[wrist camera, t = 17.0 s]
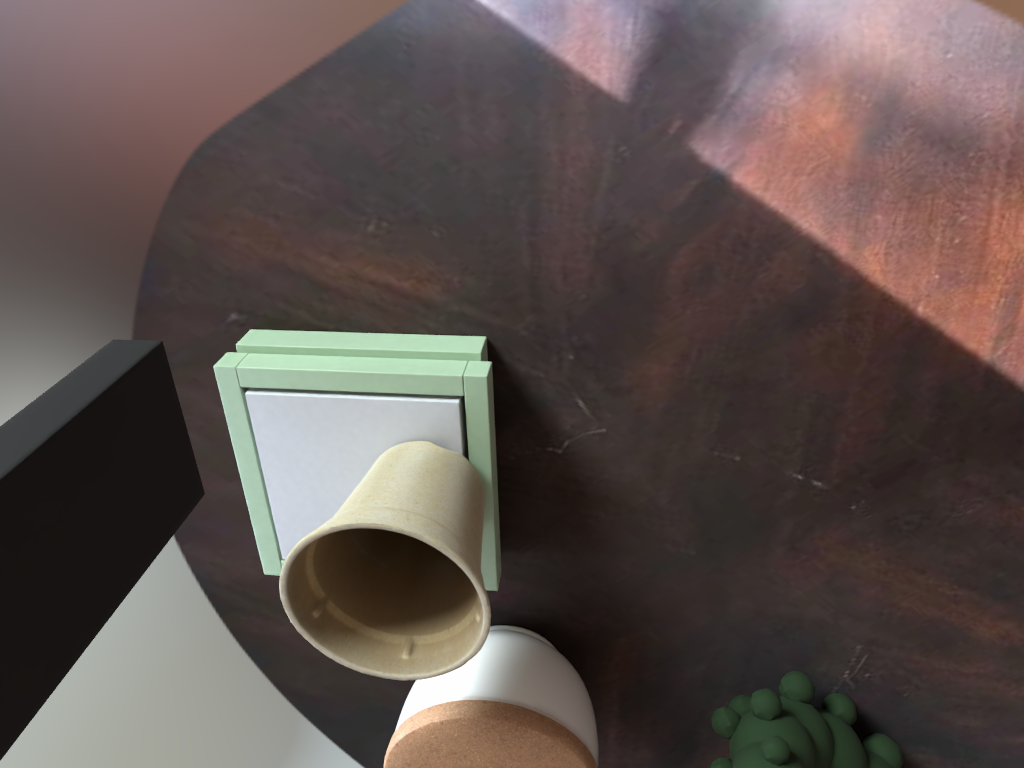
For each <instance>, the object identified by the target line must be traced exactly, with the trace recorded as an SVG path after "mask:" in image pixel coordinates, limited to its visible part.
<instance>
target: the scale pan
mask: <svg viewBox="0 0 1024 768" xmlns="http://www.w3.org/2000/svg"><path fill="white" fill-rule="evenodd" d="M245 396H246V400H247V404H248V409H249V413H250V418H251V422H252V426H253V431H254V435H255V440H256V444H257V448H258V453H259V457H260V462H261V466H262V470H263V475H264V479H265V483H266V488H267V492H268V497H269V501H270V505H271V510H272V514H273V519H274V523H275V527H276V532H277V536H278V541H279V545H280V549H281V554H282V558H283V559H286V557H287V556H288V554H289V553H290V551H291V550H292V549H293V548H294V546H295V545H296V544H297V543H298V542H299V541H300V540H301V539H303V538H304V537H305V536H307V535H308V534H309V533H311V532H313V531H314V530H316V529H318V528H319V527H320V526H321V525H323V524H324V523H325V522H327V521H328V520H330V519H332V518H333V517H334V515H335V514H336V513H337V512H338V510H339V509H340V508H341V506H342V505H343V504H344V503H345V501H346V500H347V499H348V497H349V496H350V495H351V494H352V492H353V491H354V490H355V488H356V487H357V486H358V485H359V483H360V482H361V481H362V479H363V478H364V477H365V475H366V474H367V473H368V471H369V470H370V469H371V467H372V466H373V464H374V463H375V461H376V460H377V459H378V458H379V457H380V455H382V454H383V453H384V452H385V451H387V450H388V449H390V448H392V447H394V446H396V445H398V444H401V443H406V442H411V441H428V442H431V443H433V444H435V445H437V446H440V447H442V448H445V449H448V450H451V451H456V452H458V453H460V454H461V455H463V456H464V457H465V458H466V459H467V460H468V461H469V453H468V438H467V423H466V408H465V395H464V396H450V395H425V394H401V393H376V392H351V391H326V390H301V389H277V388H252V387H250V388H249V390H248V391H247V392H246V393H245Z"/></svg>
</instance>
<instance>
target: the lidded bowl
mask: <svg viewBox="0 0 1024 768" xmlns="http://www.w3.org/2000/svg"><path fill="white" fill-rule="evenodd" d="M598 761H599V755H598V736H597V727H596V720H595V715H594V710H593V706H592V702H591V699H590V697H589V694H588V692H587V689H586V687H585V685H584V682H583V681H582V679H581V677H580V676H579V674H578V673H577V671H576V670H575V668H574V667H573V666H572V665H571V663H570V662H569V661H568V660H567V659H566V658H565V657H564V656H563V655H562V654H561V653H559V652H558V651H557V650H556V648H555V647H554V646H553V645H552V644H551V643H550V642H549V641H548V640H546V639H545V638H544V637H542V636H540V635H539V634H537V633H535V632H533V631H530V630H527V629H524V628H521V627H516V626H508V625H496V626H490V630H489V634H488V637H487V639H486V641H485V643H484V645H483V647H482V649H481V650H480V651H479V652H478V654H477V655H476V656H474V657H473V658H472V659H470V660H469V661H468V662H467V663H466V664H465V665H463V666H462V667H460V668H458V669H456V670H454V671H452V672H449V673H446V674H444V675H440V676H437V677H433V678H429V679H422V680H416V681H415V683H414V685H413V686H412V688H411V691H410V693H409V695H408V697H407V699H406V702H405V704H404V707H403V709H402V712H401V715H400V718H399V721H398V723H397V727H396V730H395V732H394V734H393V736H392V739H391V741H390V744H389V746H388V749H387V752H386V756H385V761H384V768H598Z"/></svg>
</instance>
